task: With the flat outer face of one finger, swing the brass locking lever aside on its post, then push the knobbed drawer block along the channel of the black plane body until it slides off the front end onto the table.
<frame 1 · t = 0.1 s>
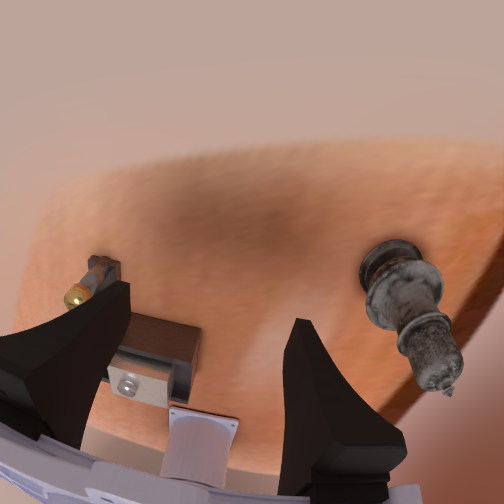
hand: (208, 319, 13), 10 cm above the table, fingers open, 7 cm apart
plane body: (140, 338, 28), on the table
knobbed drawer block: (146, 365, 26), point 3 cm above the table, touching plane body
salt shaker: (391, 269, 23), on the table
lever: (83, 342, 22), point 5 cm above the table, hinge at 0.0°
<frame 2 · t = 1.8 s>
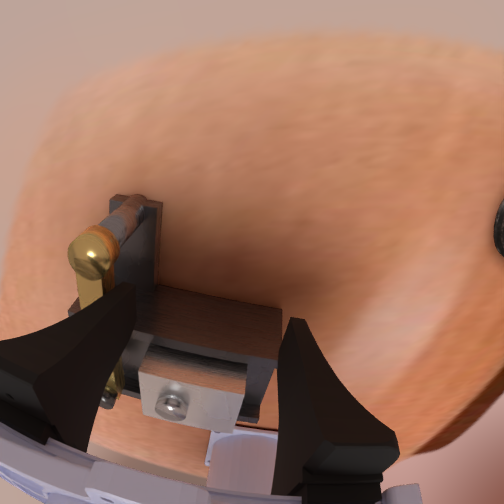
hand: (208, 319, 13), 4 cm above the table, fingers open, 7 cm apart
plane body: (183, 328, 20), on the table
knobbed drawer block: (197, 369, 17), point 3 cm above the table, touching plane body
lever: (98, 333, 13), point 5 cm above the table, hinge at 0.0°, touching gripper
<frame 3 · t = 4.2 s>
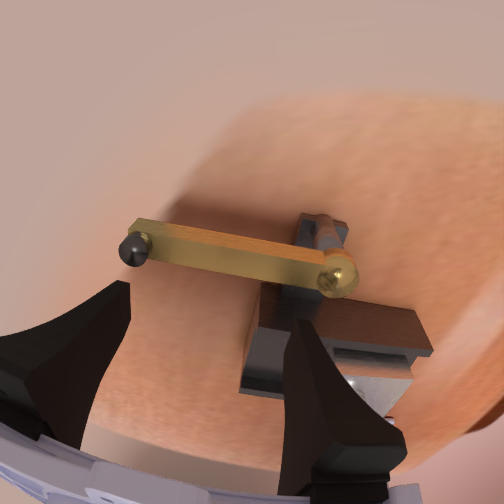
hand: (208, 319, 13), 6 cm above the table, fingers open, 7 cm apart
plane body: (329, 332, 22), on the table
knobbed drawer block: (356, 366, 19), point 3 cm above the table, touching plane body
lever: (242, 261, 13), point 5 cm above the table, hinge at -88.7°
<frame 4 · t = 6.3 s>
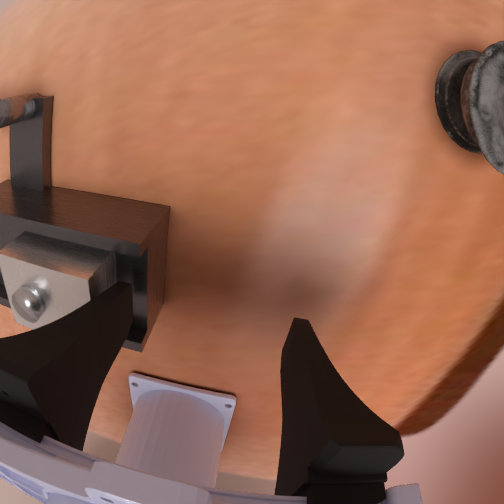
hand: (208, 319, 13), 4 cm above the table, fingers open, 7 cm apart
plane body: (77, 239, 17), on the table
knobbed drawer block: (72, 273, 14), point 3 cm above the table, touching gripper
salt shaker: (476, 101, 12), on the table
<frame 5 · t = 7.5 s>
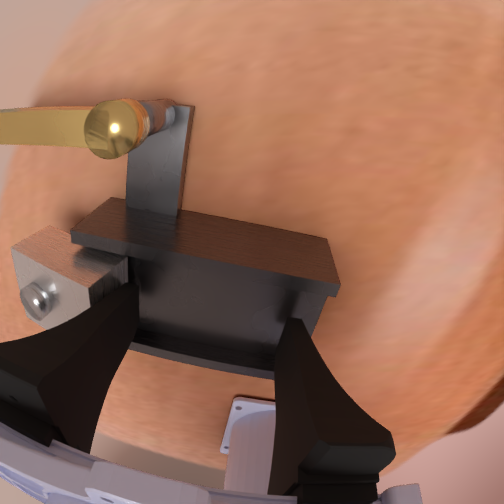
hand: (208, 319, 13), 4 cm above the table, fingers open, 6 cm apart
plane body: (207, 268, 17), on the table
knobbed drawer block: (87, 276, 14), point 3 cm above the table, tilted 12°, touching gripper, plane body
lever: (19, 127, 8), point 5 cm above the table, hinge at -88.8°
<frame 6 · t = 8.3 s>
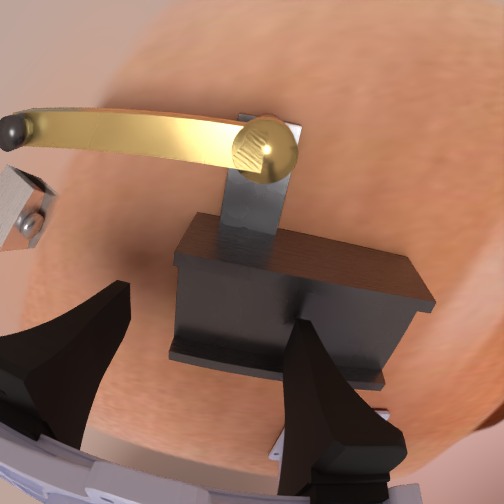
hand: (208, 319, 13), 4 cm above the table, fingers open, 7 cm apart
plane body: (294, 285, 17), on the table
knobbed drawer block: (8, 198, 16), on the table, tilted 87°
lever: (129, 132, 9), point 5 cm above the table, hinge at -88.8°
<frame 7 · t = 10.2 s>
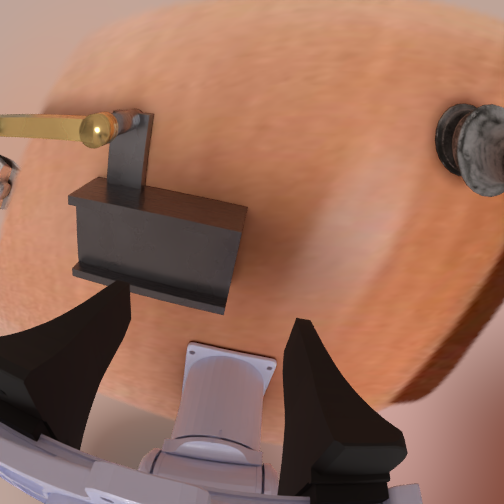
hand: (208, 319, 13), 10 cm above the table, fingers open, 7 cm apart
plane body: (163, 229, 23), on the table
salt shaker: (464, 139, 18), on the table
lever: (38, 127, 14), point 5 cm above the table, hinge at -88.8°
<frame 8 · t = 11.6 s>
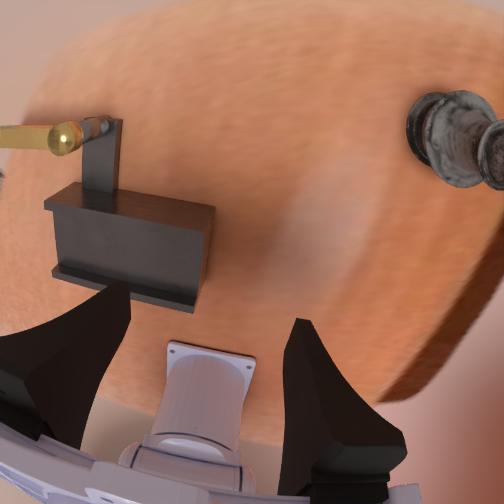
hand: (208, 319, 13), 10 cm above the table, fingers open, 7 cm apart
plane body: (137, 231, 23), on the table
salt shaker: (439, 130, 18), on the table
lever: (13, 137, 14), point 5 cm above the table, hinge at -88.8°
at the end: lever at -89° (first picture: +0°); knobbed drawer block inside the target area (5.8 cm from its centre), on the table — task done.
